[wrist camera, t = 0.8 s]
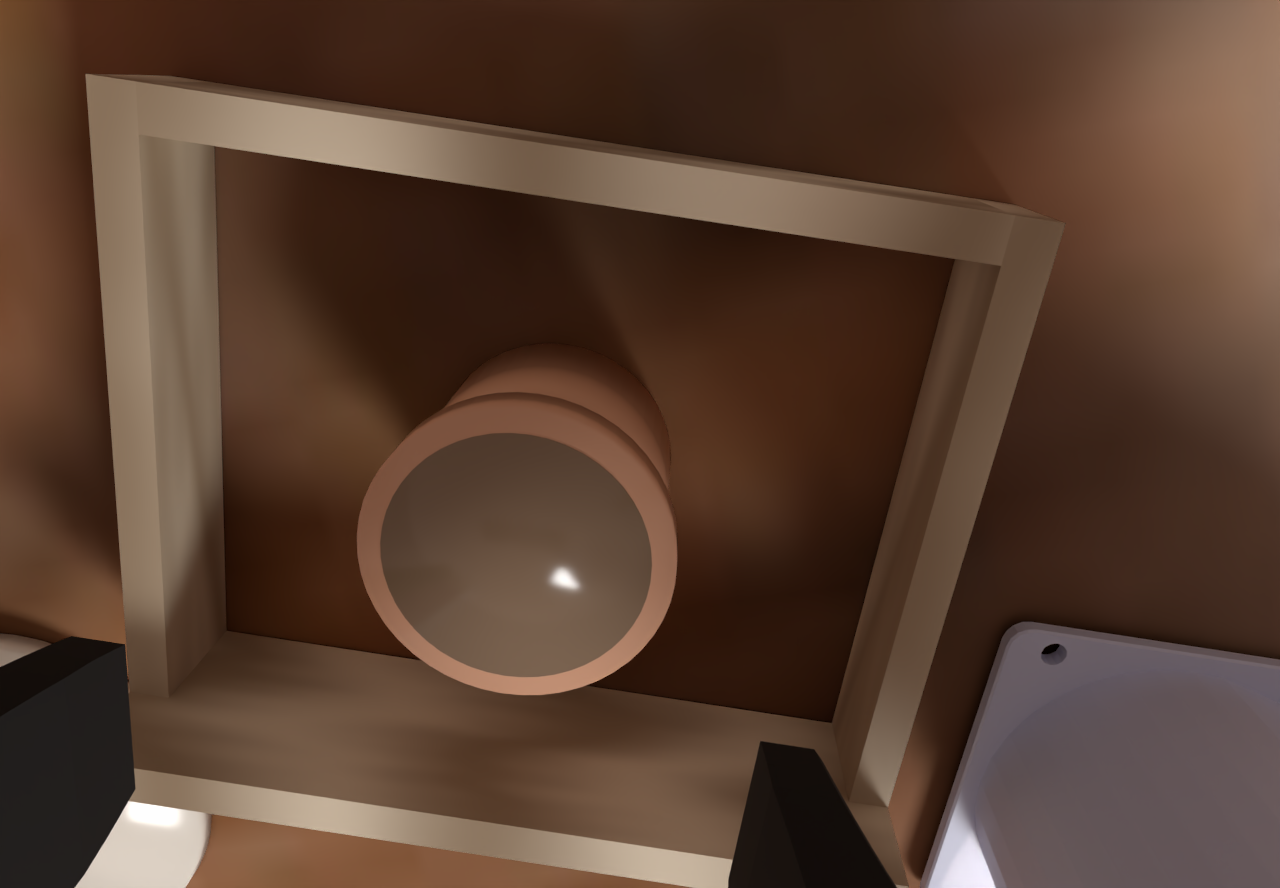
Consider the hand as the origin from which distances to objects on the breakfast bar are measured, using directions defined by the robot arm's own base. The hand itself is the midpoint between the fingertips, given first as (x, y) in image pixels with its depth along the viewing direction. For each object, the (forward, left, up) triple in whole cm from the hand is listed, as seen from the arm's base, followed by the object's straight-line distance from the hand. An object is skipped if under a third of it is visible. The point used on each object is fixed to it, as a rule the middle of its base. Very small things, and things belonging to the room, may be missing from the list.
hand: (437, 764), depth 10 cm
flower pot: (0, 0, -9) cm, 9 cm away
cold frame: (0, 0, -9) cm, 9 cm away
